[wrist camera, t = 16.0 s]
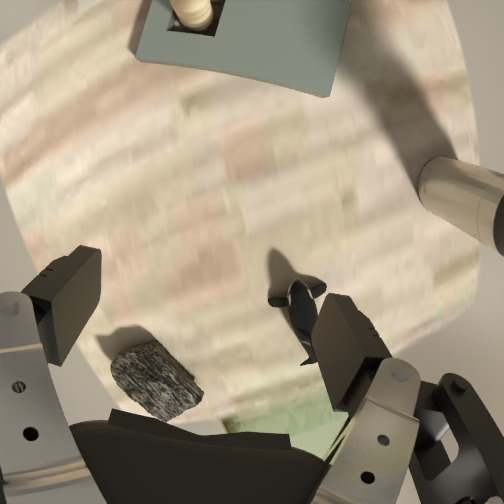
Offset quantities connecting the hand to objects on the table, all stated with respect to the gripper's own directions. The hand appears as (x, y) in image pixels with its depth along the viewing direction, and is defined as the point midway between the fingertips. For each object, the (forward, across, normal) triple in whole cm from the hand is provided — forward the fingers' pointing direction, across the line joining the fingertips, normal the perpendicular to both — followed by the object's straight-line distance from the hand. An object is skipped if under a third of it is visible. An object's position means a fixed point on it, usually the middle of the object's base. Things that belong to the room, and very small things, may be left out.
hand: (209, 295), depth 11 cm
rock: (+32, +5, +38) cm, 50 cm away
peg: (+32, +8, -19) cm, 38 cm away
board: (+32, +2, -19) cm, 37 cm away
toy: (+33, -17, +21) cm, 42 cm away
